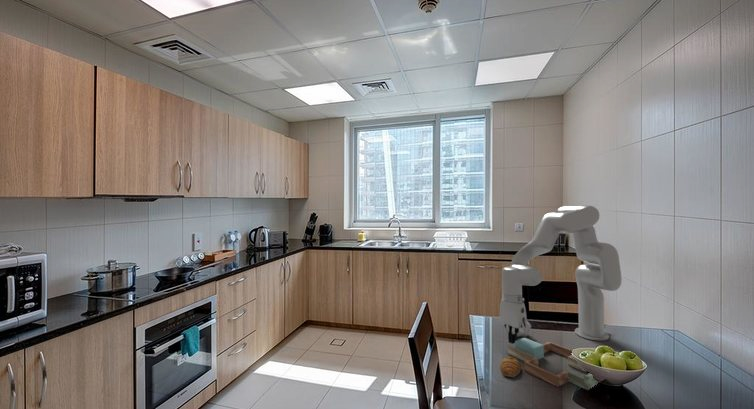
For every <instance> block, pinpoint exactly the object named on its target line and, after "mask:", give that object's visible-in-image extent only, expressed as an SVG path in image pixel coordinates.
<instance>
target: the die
mask: <svg viewBox="0 0 754 409" xmlns="http://www.w3.org/2000/svg"><path fill="white" fill-rule="evenodd" d="M531 328H532V325H531V323H530V322H529V321H528V320H527V326H526V327H525V331H524V332H518V333H517V338H519V337H520V338H521V337H522V338H527V337H528V335H529V333H530V330H531Z"/></svg>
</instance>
